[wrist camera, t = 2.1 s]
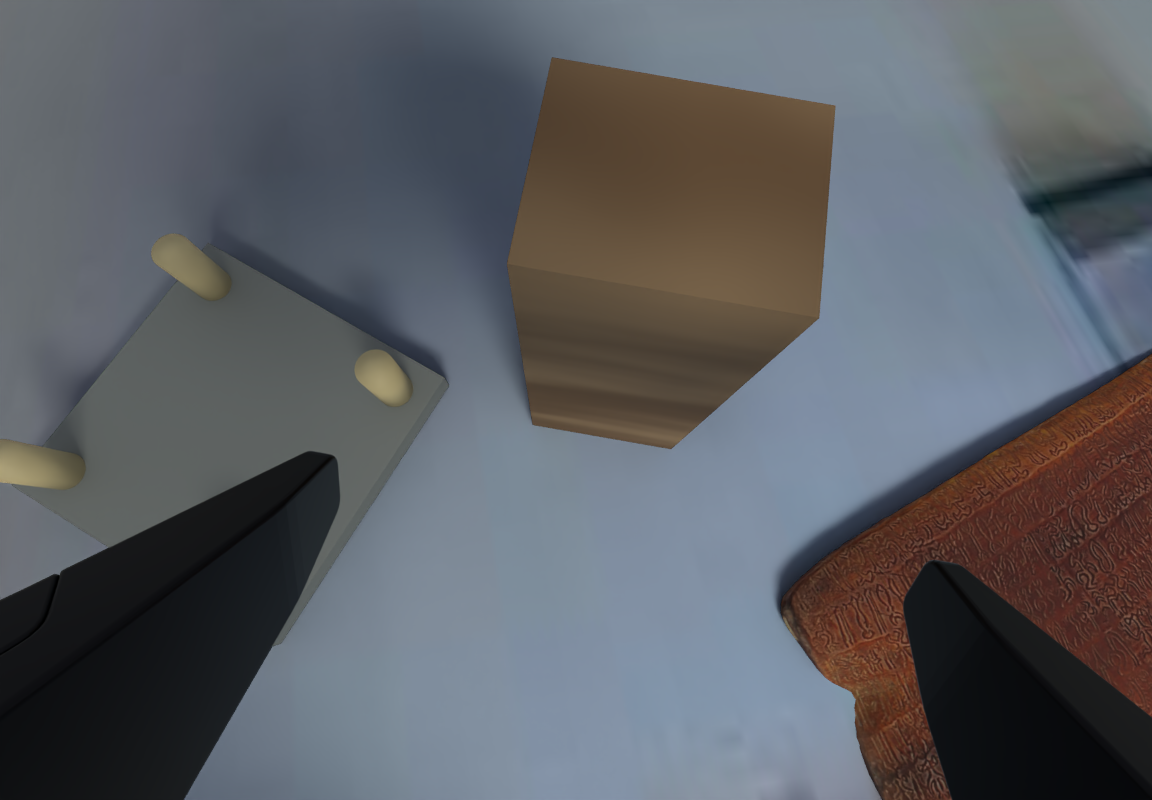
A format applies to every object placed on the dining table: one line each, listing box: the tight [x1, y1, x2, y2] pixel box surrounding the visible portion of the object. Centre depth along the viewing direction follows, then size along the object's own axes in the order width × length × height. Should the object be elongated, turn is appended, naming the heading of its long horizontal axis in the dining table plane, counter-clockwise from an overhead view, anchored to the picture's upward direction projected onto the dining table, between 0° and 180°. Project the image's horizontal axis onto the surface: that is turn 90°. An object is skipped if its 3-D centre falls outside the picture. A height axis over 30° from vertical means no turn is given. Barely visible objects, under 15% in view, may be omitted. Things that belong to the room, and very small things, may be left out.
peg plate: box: [0, 234, 449, 646], centre depth 20 cm, size 10×10×4 cm
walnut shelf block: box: [507, 57, 835, 449], centre depth 16 cm, size 4×5×12 cm
